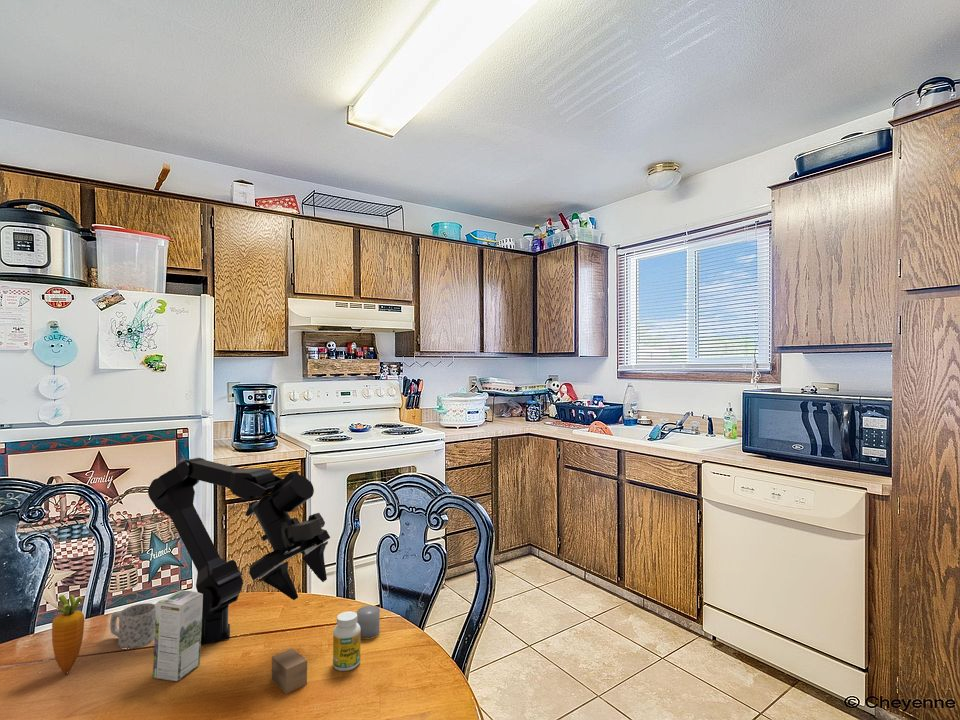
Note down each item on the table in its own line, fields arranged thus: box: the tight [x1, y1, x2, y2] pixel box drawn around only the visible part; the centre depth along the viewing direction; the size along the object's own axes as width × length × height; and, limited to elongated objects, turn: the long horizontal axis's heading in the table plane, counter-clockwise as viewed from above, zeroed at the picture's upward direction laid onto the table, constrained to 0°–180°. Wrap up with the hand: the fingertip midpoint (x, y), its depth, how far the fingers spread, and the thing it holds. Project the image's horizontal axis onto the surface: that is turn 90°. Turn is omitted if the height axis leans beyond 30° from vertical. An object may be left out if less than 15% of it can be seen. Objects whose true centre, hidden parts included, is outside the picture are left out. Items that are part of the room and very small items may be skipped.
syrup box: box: [152, 589, 203, 682], centre depth 97 cm, size 6×6×14 cm
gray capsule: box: [356, 605, 381, 639], centre depth 112 cm, size 5×5×5 cm
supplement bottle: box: [332, 611, 361, 672], centre depth 100 cm, size 5×5×10 cm
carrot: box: [51, 594, 85, 674], centre depth 96 cm, size 5×5×15 cm
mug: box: [109, 602, 156, 650], centre depth 108 cm, size 10×7×7 cm, turn 80°
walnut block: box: [270, 647, 308, 695], centre depth 94 cm, size 6×4×4 cm, turn 47°
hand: (311, 589), depth 102 cm, fingers open, 9 cm apart
